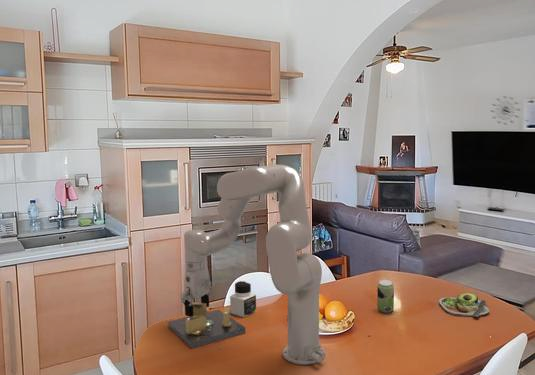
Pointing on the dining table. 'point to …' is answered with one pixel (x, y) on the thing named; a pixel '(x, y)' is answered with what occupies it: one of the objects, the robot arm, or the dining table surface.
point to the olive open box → (199, 309)
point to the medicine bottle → (243, 300)
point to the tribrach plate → (207, 329)
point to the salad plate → (465, 305)
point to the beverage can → (385, 296)
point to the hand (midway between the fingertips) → (197, 311)
